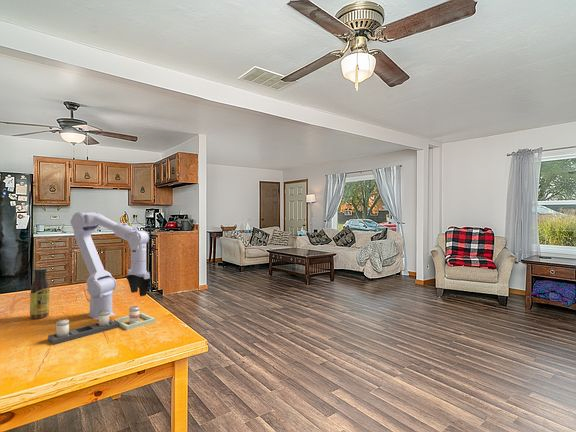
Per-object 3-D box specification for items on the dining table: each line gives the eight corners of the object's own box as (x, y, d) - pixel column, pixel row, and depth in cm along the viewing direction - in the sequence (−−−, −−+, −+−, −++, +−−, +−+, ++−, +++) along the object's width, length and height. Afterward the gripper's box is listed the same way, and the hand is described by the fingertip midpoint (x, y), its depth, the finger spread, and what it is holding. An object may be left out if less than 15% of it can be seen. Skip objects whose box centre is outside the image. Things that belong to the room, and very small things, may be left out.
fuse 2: (96, 328, 119) (96, 312, 119) (107, 325, 122) (107, 309, 122) (100, 330, 117) (100, 314, 117) (111, 327, 120) (111, 311, 119)
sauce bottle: (38, 320, 128) (38, 270, 128) (25, 319, 129) (25, 270, 129) (53, 314, 135) (53, 267, 134) (41, 313, 136) (40, 267, 135)
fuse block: (47, 340, 109) (47, 335, 109) (110, 324, 124) (110, 319, 124) (53, 346, 104) (53, 340, 104) (117, 329, 120) (117, 323, 120)
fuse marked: (127, 323, 125) (127, 307, 125) (137, 320, 128) (137, 305, 127) (131, 325, 123) (131, 309, 122) (141, 322, 125) (141, 307, 125)
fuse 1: (54, 338, 109) (54, 321, 109) (67, 335, 112) (67, 318, 112) (58, 341, 107) (58, 324, 107) (70, 338, 110) (70, 321, 109)
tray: (113, 324, 124) (113, 319, 124) (141, 317, 133) (141, 312, 133) (126, 331, 117) (126, 326, 117) (155, 323, 126) (155, 318, 126)
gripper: (120, 259, 131) (120, 292, 132) (136, 264, 122) (136, 299, 122) (137, 257, 137) (137, 289, 137) (154, 261, 127) (154, 295, 128)
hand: (138, 293), depth 130 cm, fingers open, 7 cm apart
